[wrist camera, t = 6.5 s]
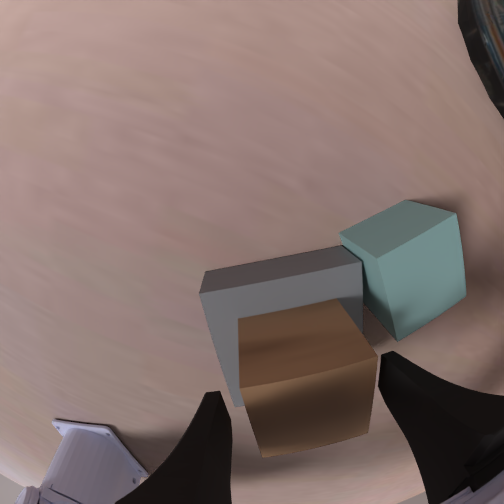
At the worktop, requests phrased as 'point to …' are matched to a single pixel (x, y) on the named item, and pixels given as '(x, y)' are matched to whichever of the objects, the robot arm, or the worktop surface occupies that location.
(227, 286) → the base block
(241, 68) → the worktop surface
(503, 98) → the beer stein
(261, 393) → the walnut cube
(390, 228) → the teal cube
